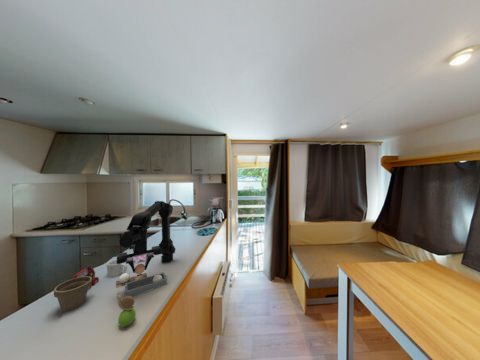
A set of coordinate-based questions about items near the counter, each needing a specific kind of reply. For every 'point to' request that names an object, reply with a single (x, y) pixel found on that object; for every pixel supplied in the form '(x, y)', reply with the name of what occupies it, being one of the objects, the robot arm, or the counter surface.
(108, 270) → the cup
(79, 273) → the toy fire truck
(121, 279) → the ball ivory rack
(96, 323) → the counter surface
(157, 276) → the ball ivory trough
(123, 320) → the snail figurine
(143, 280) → the trough
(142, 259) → the lily
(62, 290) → the flower pot
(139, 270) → the ball terracotta
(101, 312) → the counter surface
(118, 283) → the rack
